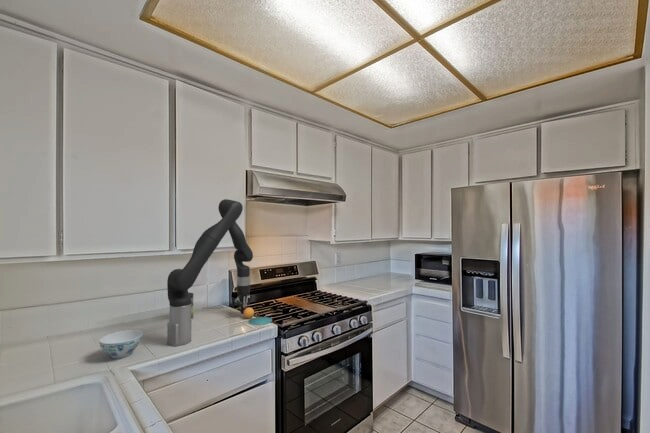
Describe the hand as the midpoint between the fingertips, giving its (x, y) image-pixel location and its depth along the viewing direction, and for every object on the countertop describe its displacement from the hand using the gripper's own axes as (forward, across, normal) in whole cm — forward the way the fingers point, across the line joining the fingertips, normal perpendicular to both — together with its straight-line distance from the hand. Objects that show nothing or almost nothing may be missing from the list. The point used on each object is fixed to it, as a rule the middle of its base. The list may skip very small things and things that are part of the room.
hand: (243, 313), depth 180 cm
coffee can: (+2, -19, +27) cm, 33 cm away
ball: (-1, 0, -4) cm, 4 cm away
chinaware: (+1, -62, +8) cm, 63 cm away
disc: (+2, -1, -13) cm, 13 cm away
